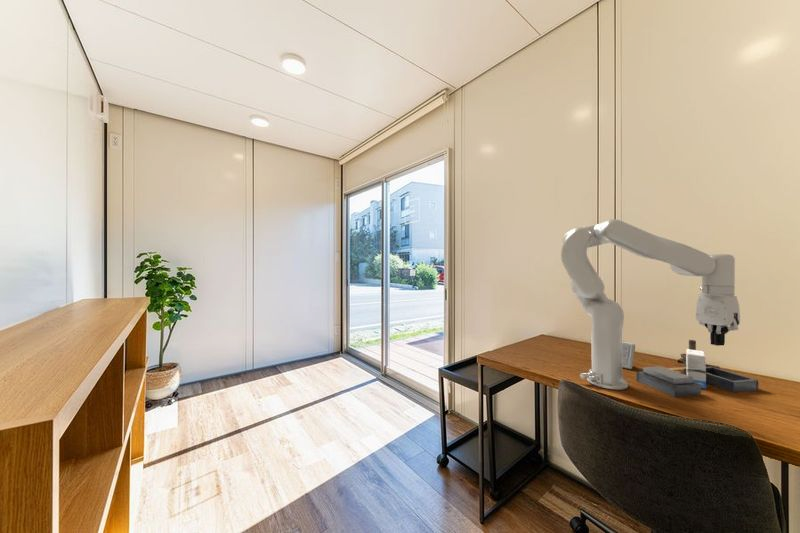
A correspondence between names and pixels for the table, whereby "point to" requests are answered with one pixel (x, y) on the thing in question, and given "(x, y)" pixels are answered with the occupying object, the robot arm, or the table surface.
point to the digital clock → (627, 354)
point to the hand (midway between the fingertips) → (717, 344)
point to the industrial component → (691, 346)
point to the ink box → (696, 366)
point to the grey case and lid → (683, 385)
